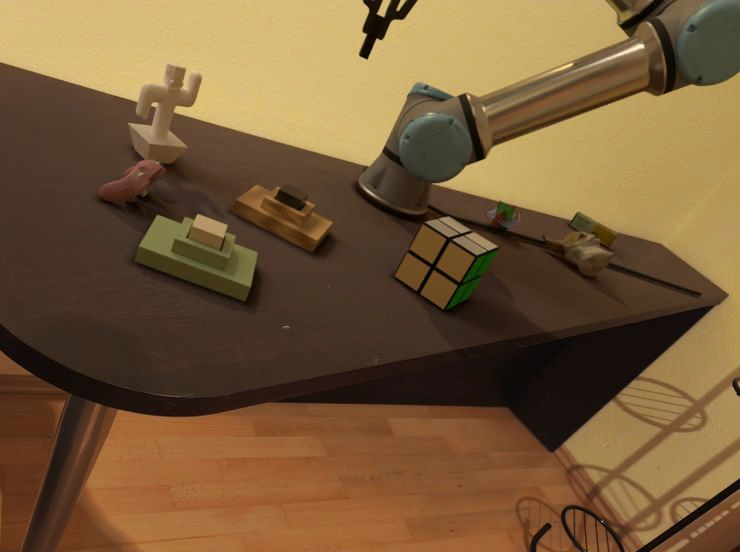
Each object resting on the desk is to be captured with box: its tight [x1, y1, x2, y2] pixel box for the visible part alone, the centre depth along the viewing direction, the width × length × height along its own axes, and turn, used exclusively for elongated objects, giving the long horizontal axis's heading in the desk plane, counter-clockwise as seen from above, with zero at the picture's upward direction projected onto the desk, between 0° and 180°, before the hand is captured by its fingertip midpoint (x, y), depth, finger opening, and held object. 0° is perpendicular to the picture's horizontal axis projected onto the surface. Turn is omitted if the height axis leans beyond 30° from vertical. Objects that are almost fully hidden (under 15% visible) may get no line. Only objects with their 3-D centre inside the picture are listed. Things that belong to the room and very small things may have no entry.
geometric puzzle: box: [484, 200, 521, 236], centre depth 142 cm, size 7×7×8 cm
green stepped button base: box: [134, 214, 259, 302], centre depth 80 cm, size 14×10×4 cm
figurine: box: [127, 61, 203, 165], centre depth 100 cm, size 7×9×15 cm
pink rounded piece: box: [98, 158, 166, 203], centre depth 88 cm, size 10×5×7 cm, turn 168°
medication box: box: [568, 211, 619, 248], centre depth 172 cm, size 12×3×4 cm, turn 46°
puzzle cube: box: [393, 216, 500, 312], centre depth 100 cm, size 10×10×10 cm
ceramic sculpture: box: [541, 230, 615, 278], centre depth 142 cm, size 11×9×15 cm
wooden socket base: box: [231, 184, 334, 253], centre depth 100 cm, size 14×10×4 cm
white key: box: [188, 213, 229, 250], centre depth 78 cm, size 4×4×2 cm
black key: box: [275, 182, 310, 211], centre depth 99 cm, size 4×4×2 cm
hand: (363, 56), depth 107 cm, fingers closed
